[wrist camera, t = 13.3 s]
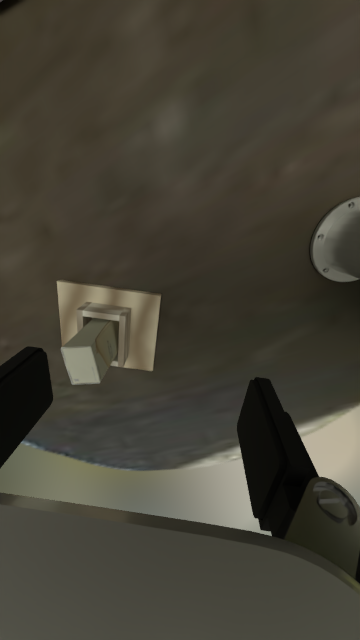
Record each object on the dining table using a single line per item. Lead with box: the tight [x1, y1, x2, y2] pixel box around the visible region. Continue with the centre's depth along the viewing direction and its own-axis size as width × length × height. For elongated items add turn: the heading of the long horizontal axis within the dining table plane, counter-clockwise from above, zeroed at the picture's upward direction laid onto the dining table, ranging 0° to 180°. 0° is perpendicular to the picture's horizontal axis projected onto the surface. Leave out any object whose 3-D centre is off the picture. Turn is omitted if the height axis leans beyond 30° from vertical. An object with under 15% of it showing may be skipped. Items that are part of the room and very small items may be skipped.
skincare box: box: [61, 318, 119, 384], centre depth 37 cm, size 6×4×12 cm
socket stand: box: [57, 280, 161, 371], centre depth 41 cm, size 18×16×5 cm
